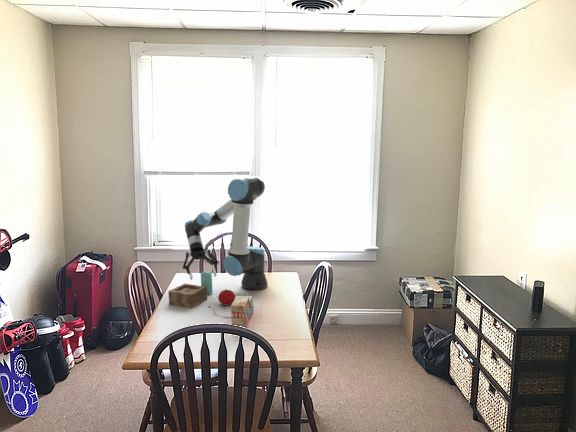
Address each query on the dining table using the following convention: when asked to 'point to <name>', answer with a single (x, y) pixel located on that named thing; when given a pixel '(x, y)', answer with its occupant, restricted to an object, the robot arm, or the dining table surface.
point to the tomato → (226, 297)
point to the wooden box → (187, 295)
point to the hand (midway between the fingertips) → (203, 277)
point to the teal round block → (207, 281)
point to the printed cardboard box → (242, 310)
